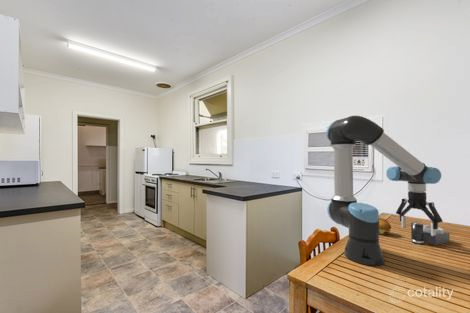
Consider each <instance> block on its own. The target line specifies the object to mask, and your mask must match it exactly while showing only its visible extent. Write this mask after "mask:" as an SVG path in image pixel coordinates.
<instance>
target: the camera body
mask: <svg viewBox="0 0 470 313" xmlns="http://www.w3.org/2000/svg"><path fill="white" fill-rule="evenodd" d="M423 238H424V243H427V244H431V245H434V246H437V245H441V244H446V243H450V240H451V239H450V232H449V231H445V230H444V229H443V227H439V226H438V229H436V235H435V236H431V225H427V224H426V225H425V224H423Z"/></svg>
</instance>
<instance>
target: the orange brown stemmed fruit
mask: <svg viewBox="0 0 470 313" xmlns="http://www.w3.org/2000/svg"><path fill="white" fill-rule="evenodd" d="M391 229H392V225H391V223H390V222H389V221H388V220H387V219H386V218H384V217H379V235H389V234H390V233H391Z"/></svg>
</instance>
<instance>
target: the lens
mask: <svg viewBox="0 0 470 313" xmlns="http://www.w3.org/2000/svg"><path fill="white" fill-rule="evenodd" d="M410 224H411V225H410V227H411V229H410V230H411V231H410V234H411V237H410V241H411V243H413V244H415V245H421V246H423V245H424V244H425V242H424V238H423V226H424V224H423V223H420V222H416V221H415V222H410Z"/></svg>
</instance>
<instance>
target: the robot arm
mask: <svg viewBox="0 0 470 313" xmlns="http://www.w3.org/2000/svg"><path fill="white" fill-rule="evenodd" d="M326 138H327V139H328V141H330V147H331V148H333V167H334V168H333V174H334V176H333V178H334V180H333V182H334V195H333V196H332V197H331V198H330V200H331V201H330V202H329V204H328V206H327V214H328V217H329V219H330V220H331V221H333V222H335V223H336V224H337V225H340V226H342V227H345V228H347V229H348V240H347V242H346V244H345V247H344V256H345V258H347V259H348V260H350V261H352V262H355V263H357V264H360V265H365V266H374V265H377V266H382V265H384V263H385V256H384V254H383V251H382V248H381V245H380V234H379V218H380V215H379V210H378V208H376V207H375V206H374V205H371V204H368V203H364V202H358V199H357V198H356V197H355V196H354V165H353V164H354V163H353V162H354V158H353V156H354V155H353V151H354V150H353V149H354V147H356V145H357V141H358V142H361V143H363V144H364V145H366V146H371V147H372V148H373V149H374V150H376V151H377V152H378V153H380V154H381V155H382V156H384V157H385V158H387V159H388V160H389V161H390V162H392V163H393V164H394V165H395V166H390V167H388V168H387V169H386V174H385V175H386V178H387V179H388V180H389V181H392V182H407V190H408V191H407V198H408V199H407V198H402V199H401V202H400V204H399V207H398V208H397V210H396V212H395V214H397V215H399V221H400V222H401V228H402V229H405V228H406V229H407V216H406V214H407V213H408V212H409V211H410V210H412V209H413V210H415V209H417V210H421V211H422V212H424V214H425V215H426V216H427V217H428V219H429V220H430V221H431V222H430V226H431V236H435V235H436V229H438V227H439V225H438V224H439V223H443V219H442V217H441V215H440V213H439V212H438V211H437V208H436V207H435V202H433V201H431V202H427V185H428V184H433V185H434V184H437V183H439V182H440V180H441V178H442V172H441V171H440V169H439V168H437V167H432V166H430V167H429V166H427V165H426V164H425V163H424V162H422V161H420V159H418V158H417V157H415V156H414V155H413V154H411V152H410V151H408V150H407V149H406V148H404V147H403V146H402V145H401V144H399V143H398V142H397V141H396V140H394V139H393V138H391V137H390V136H389V135H388V134H386V133H385V130H384V129H383V127H381V126H380V125H379V124H377V123H376V122H375V121H372V120H371V119H369V118H366V117H365V116H360V115H350V116H347V117H344V118H340V119H337V120H334V121H333V122H331V123H330V124H329V125H328V126H327V129H326ZM407 203H408V205H407ZM406 205H407V206H406Z"/></svg>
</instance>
